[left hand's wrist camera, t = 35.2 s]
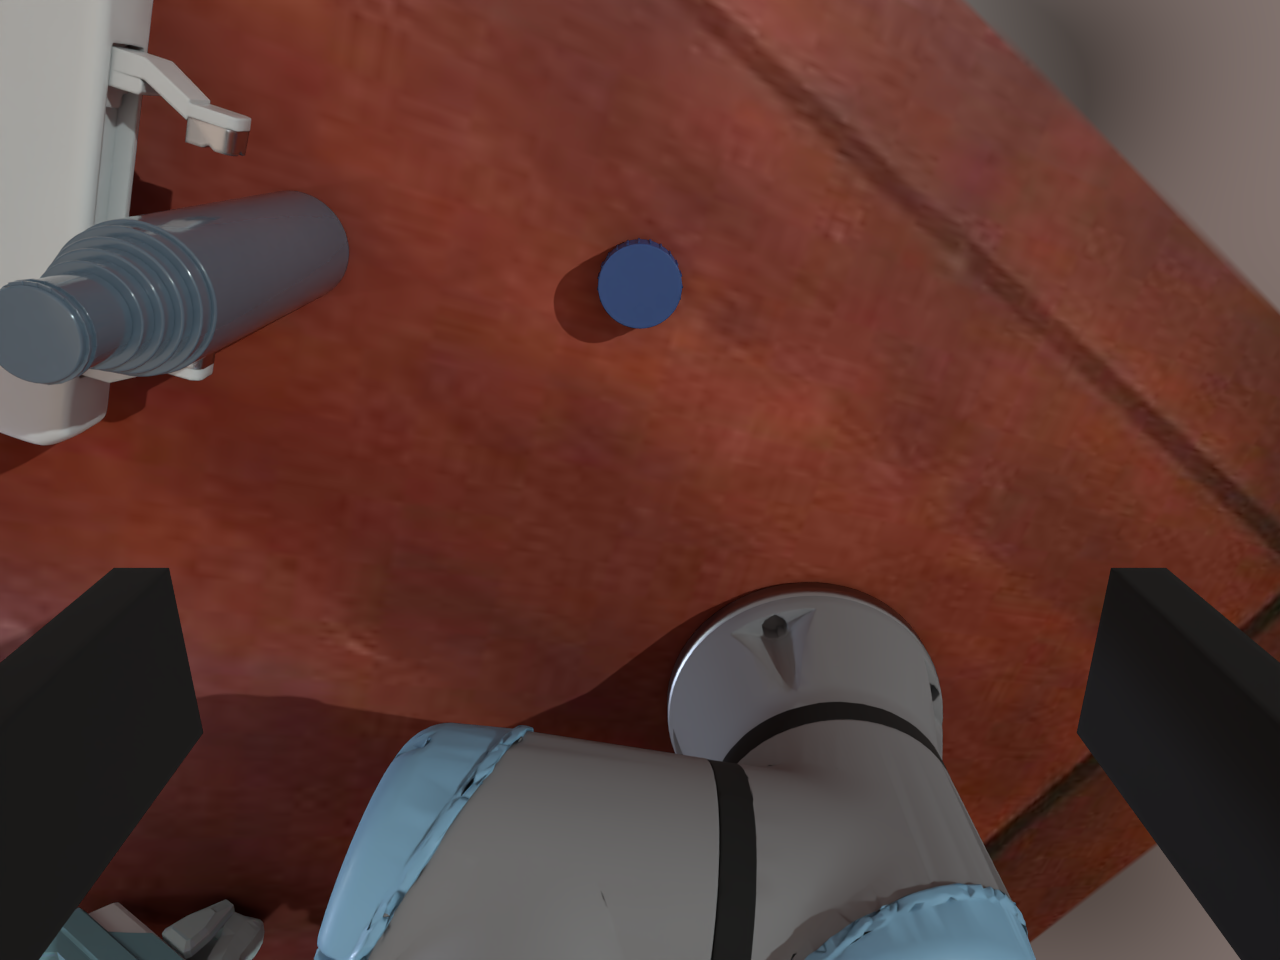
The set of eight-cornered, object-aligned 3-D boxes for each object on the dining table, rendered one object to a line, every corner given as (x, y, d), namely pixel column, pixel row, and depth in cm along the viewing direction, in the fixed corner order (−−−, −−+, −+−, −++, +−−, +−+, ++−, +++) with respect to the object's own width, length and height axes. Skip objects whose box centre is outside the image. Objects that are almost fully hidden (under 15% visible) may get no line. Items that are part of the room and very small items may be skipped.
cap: (624, 221, 43) (623, 225, 41) (696, 264, 44) (699, 270, 42) (583, 295, 44) (581, 302, 42) (654, 336, 45) (655, 344, 43)
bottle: (359, 294, 44) (150, 416, 25) (257, 304, 44) (-26, 434, 25) (336, 184, 42) (92, 228, 23) (229, 196, 42) (-98, 249, 24)
